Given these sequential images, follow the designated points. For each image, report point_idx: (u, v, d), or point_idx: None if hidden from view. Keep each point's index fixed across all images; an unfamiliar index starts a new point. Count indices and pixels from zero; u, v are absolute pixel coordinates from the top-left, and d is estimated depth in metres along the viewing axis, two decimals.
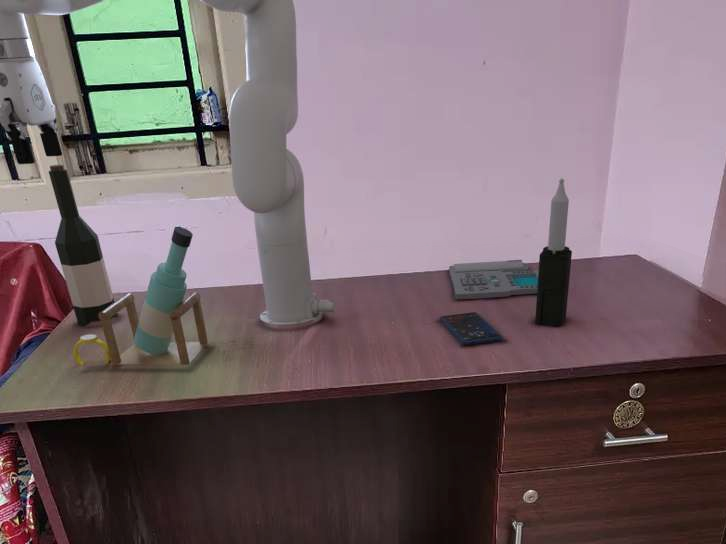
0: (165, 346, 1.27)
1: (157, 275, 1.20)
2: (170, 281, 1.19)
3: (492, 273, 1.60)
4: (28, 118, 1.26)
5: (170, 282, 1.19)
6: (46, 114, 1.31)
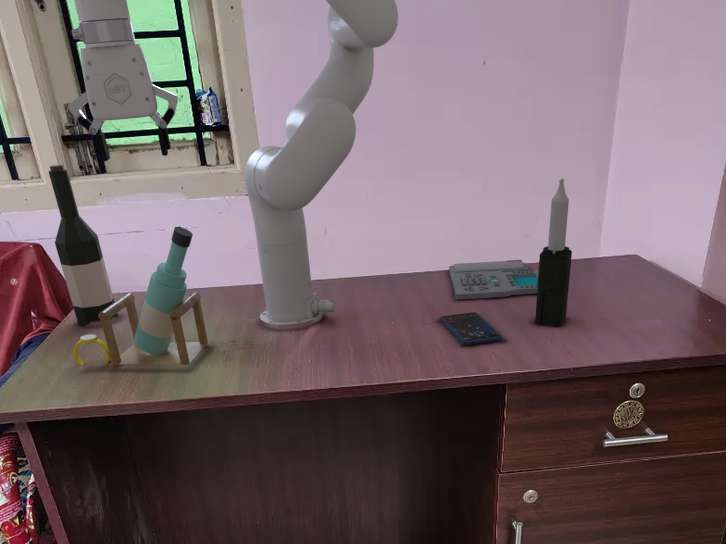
0: (165, 346, 1.27)
1: (157, 275, 1.20)
2: (170, 281, 1.19)
3: (492, 273, 1.60)
4: (93, 112, 1.13)
5: (170, 282, 1.19)
6: (131, 108, 1.13)
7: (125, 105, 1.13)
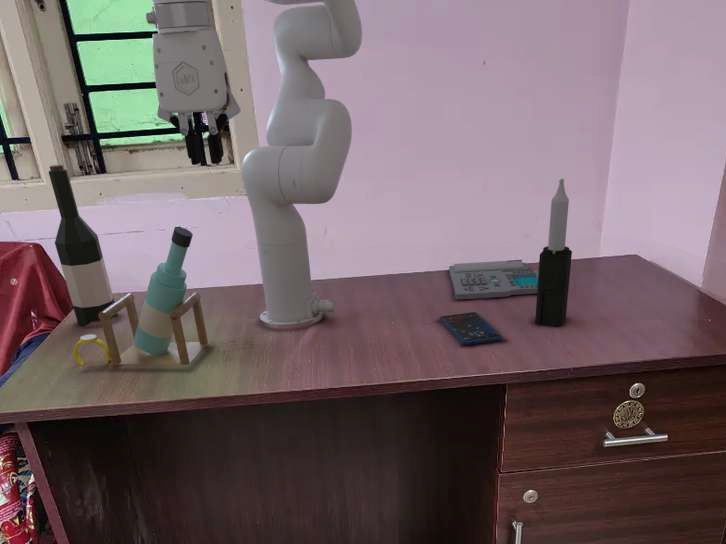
0: (165, 346, 1.27)
1: (157, 275, 1.20)
2: (170, 281, 1.19)
3: (492, 272, 1.60)
4: (161, 103, 1.04)
5: (170, 282, 1.19)
6: (199, 100, 1.03)
7: (193, 97, 1.03)
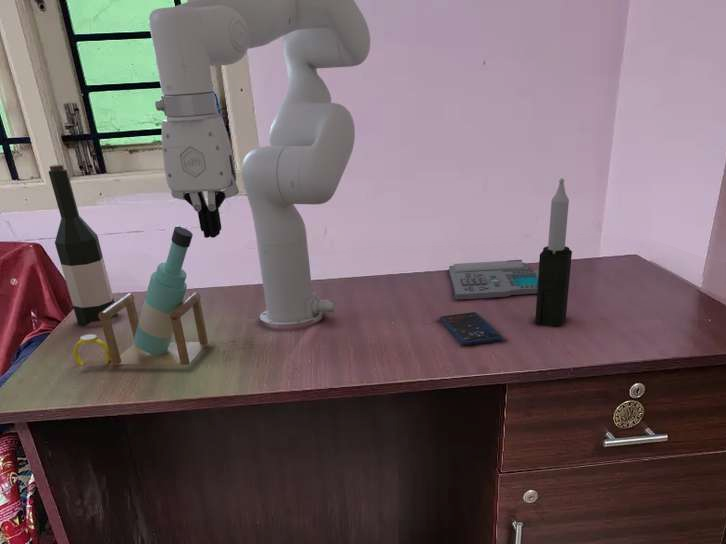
0: (165, 346, 1.27)
1: (157, 275, 1.20)
2: (170, 281, 1.19)
3: (492, 272, 1.60)
4: (169, 183, 1.10)
5: (170, 282, 1.19)
6: (205, 181, 1.09)
7: (199, 178, 1.09)
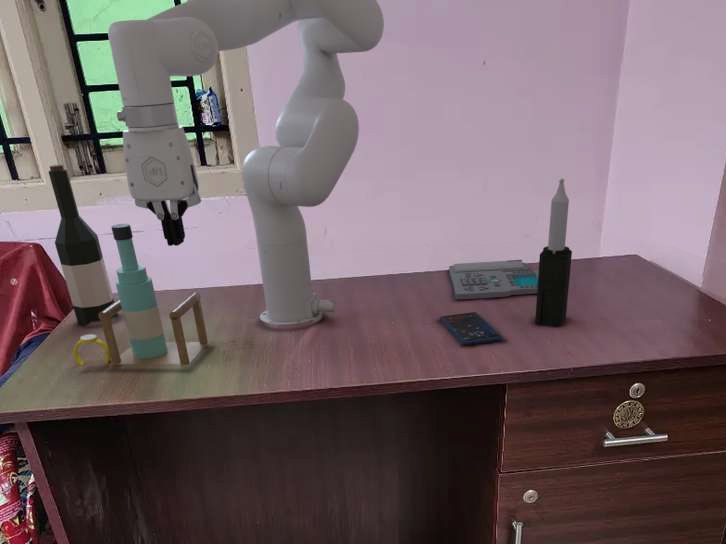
0: (160, 345, 1.27)
1: (119, 279, 1.21)
2: (131, 278, 1.20)
3: (492, 272, 1.60)
4: (131, 193, 1.12)
5: (131, 279, 1.20)
6: (166, 190, 1.11)
7: (161, 188, 1.11)
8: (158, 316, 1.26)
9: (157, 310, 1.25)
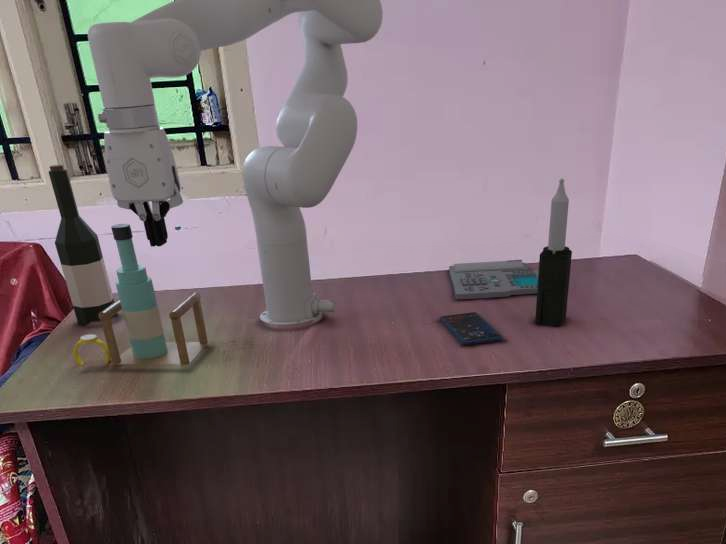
0: (160, 345, 1.27)
1: (119, 279, 1.21)
2: (131, 278, 1.20)
3: (492, 272, 1.60)
4: (113, 194, 1.12)
5: (131, 279, 1.20)
6: (148, 191, 1.11)
7: (142, 189, 1.11)
8: (158, 316, 1.26)
9: (157, 310, 1.25)
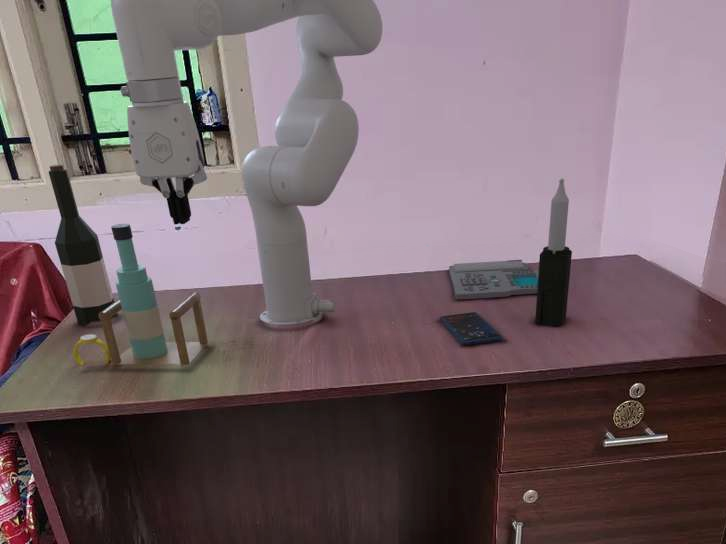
0: (160, 345, 1.27)
1: (119, 279, 1.21)
2: (131, 278, 1.20)
3: (492, 272, 1.60)
4: (136, 170, 1.10)
5: (131, 279, 1.20)
6: (172, 167, 1.09)
7: (166, 164, 1.09)
8: (158, 316, 1.26)
9: (157, 310, 1.25)
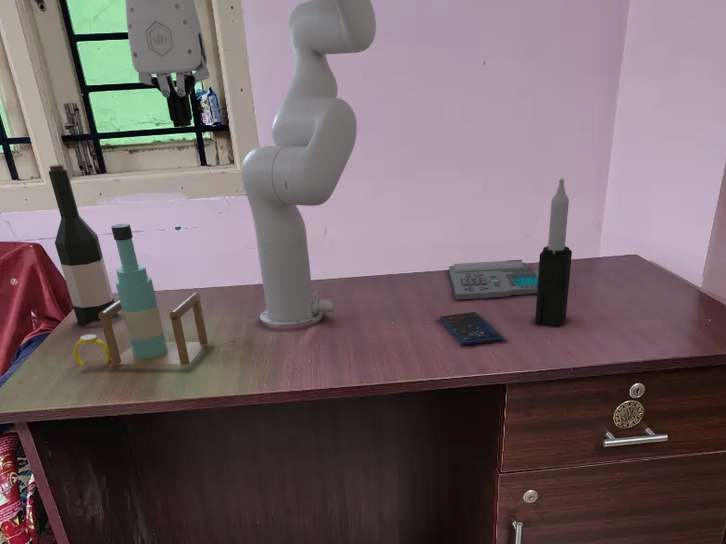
0: (160, 345, 1.27)
1: (119, 279, 1.21)
2: (131, 278, 1.20)
3: (492, 272, 1.60)
4: (135, 65, 1.04)
5: (131, 279, 1.20)
6: (172, 61, 1.03)
7: (166, 57, 1.03)
8: (158, 316, 1.26)
9: (157, 310, 1.25)
